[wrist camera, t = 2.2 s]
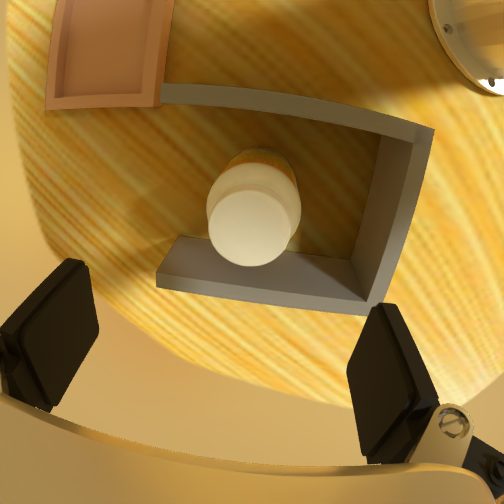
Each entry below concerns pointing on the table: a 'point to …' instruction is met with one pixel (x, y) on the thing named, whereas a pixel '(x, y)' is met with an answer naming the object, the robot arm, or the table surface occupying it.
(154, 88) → the tray
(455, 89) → the table surface
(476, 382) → the table surface
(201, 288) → the bay
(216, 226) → the supplement bottle
